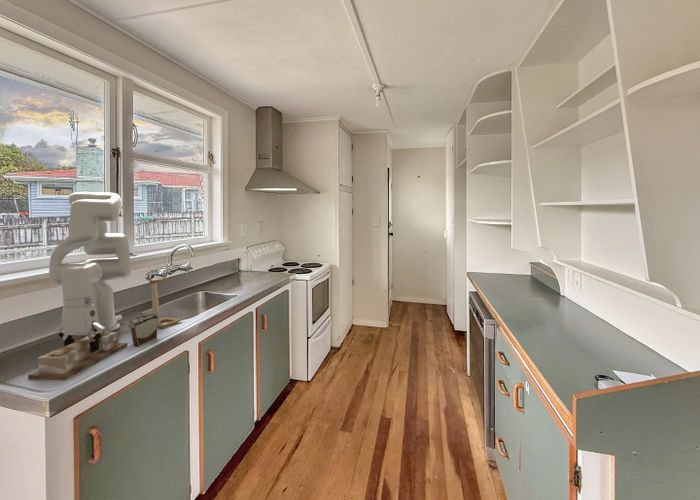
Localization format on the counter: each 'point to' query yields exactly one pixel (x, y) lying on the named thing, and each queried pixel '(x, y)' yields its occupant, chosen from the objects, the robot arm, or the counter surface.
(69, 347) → the slat
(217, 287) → the counter surface
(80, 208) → the robot arm
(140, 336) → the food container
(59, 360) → the board
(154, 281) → the headphone stand
